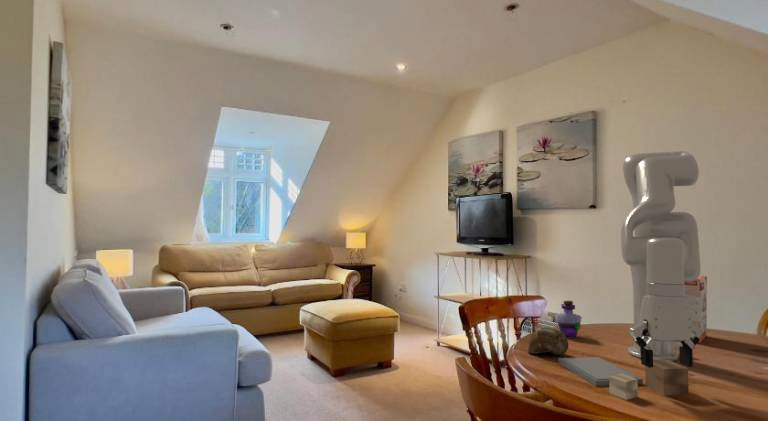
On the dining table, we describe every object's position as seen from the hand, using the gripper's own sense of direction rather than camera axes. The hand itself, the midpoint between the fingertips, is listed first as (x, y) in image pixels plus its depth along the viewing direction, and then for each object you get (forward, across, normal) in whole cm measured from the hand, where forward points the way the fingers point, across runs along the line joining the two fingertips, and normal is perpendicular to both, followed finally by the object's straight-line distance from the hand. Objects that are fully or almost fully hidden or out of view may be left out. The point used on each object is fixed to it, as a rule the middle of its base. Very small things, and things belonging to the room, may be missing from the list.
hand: (666, 365), depth 103 cm
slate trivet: (+6, +8, -14) cm, 17 cm away
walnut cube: (+6, 0, -1) cm, 6 cm away
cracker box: (+4, -44, -44) cm, 63 cm away
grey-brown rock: (+6, +14, -31) cm, 34 cm away
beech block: (+6, +12, +1) cm, 13 cm away
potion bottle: (+4, -4, -51) cm, 51 cm away
